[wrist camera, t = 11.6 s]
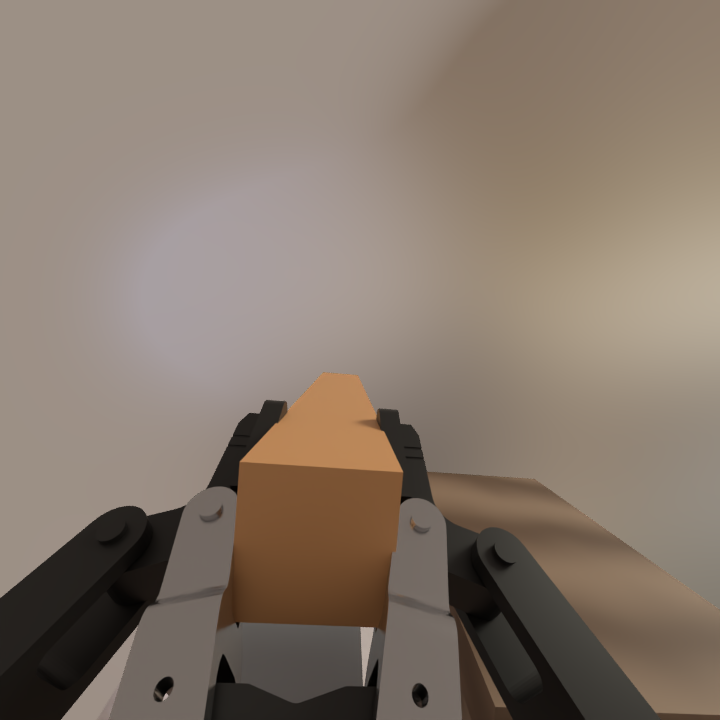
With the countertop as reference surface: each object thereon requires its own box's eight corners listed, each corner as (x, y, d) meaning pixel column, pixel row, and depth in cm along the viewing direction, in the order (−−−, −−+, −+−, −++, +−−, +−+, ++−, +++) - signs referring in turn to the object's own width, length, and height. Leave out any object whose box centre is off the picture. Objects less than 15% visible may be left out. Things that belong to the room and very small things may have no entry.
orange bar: (388, 628, 7) (403, 472, 7) (228, 621, 6) (239, 461, 6) (354, 409, 31) (357, 375, 30) (320, 406, 30) (323, 372, 30)
